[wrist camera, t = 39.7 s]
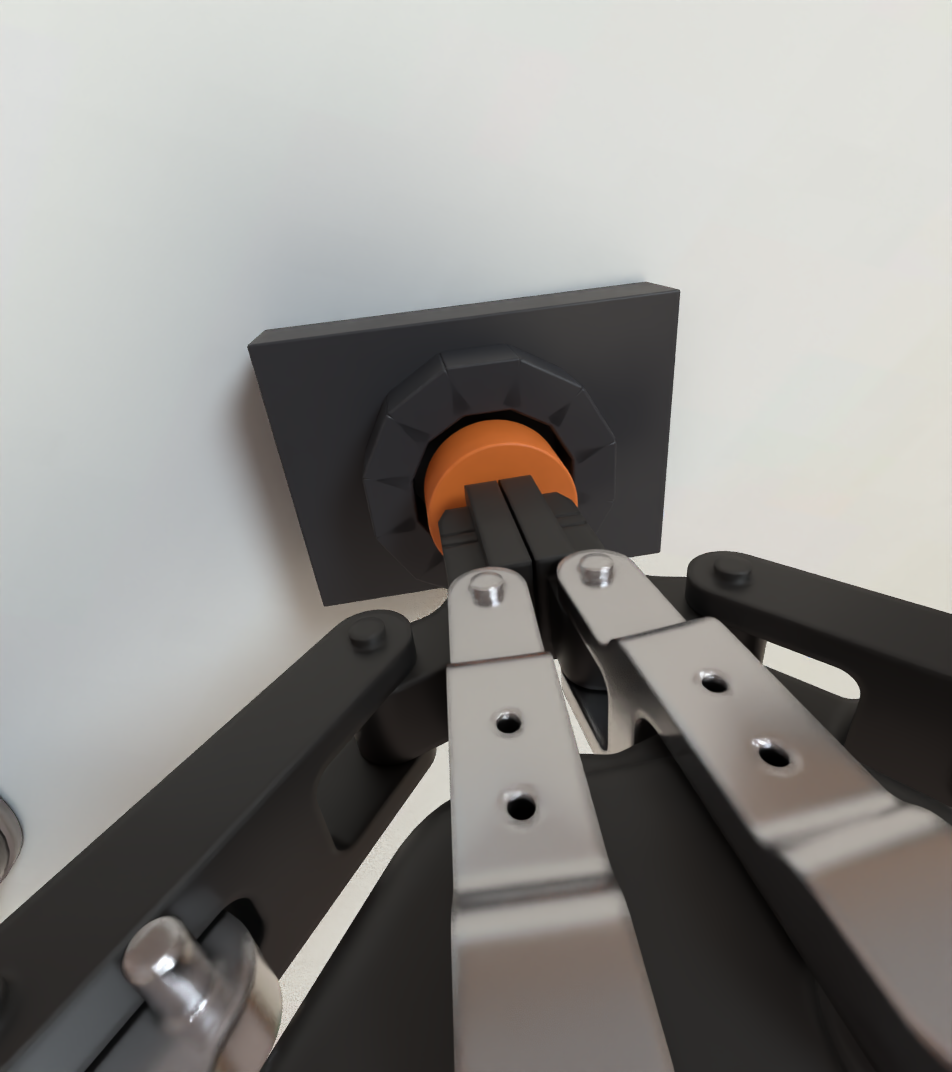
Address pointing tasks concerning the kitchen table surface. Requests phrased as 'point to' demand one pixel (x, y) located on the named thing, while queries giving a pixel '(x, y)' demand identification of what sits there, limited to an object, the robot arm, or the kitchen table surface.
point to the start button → (490, 465)
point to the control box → (467, 419)
